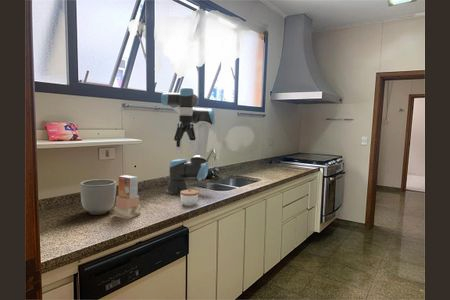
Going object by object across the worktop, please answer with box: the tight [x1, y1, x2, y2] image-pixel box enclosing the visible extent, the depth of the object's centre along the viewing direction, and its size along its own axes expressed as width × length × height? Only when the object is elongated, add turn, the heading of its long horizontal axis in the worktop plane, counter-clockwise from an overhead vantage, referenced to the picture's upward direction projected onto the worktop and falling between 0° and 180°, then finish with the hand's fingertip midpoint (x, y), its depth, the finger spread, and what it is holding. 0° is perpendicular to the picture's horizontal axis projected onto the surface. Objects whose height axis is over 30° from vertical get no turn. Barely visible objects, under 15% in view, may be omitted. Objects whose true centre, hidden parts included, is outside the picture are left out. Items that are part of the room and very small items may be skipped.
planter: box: [79, 178, 117, 216], centre depth 147 cm, size 17×17×16 cm
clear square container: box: [113, 204, 142, 220], centre depth 145 cm, size 9×9×5 cm
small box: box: [117, 174, 139, 199], centre depth 144 cm, size 8×6×10 cm
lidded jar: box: [180, 188, 199, 207], centre depth 169 cm, size 11×11×9 cm
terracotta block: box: [115, 195, 140, 209], centre depth 145 cm, size 8×8×5 cm
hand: (185, 151), depth 164 cm, fingers open, 13 cm apart
